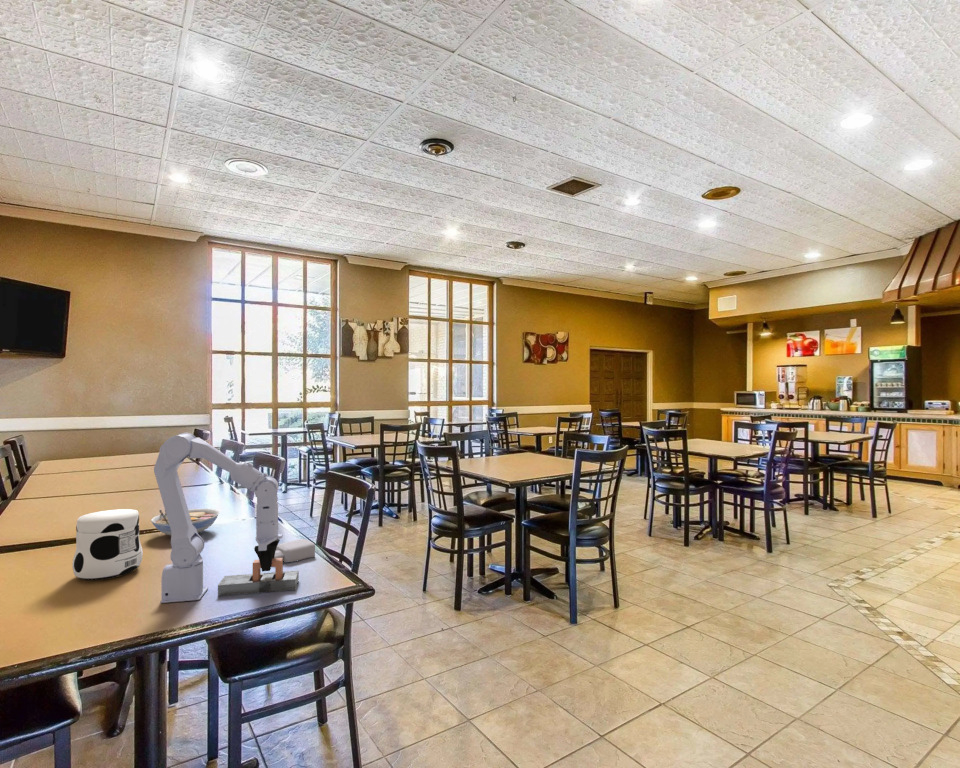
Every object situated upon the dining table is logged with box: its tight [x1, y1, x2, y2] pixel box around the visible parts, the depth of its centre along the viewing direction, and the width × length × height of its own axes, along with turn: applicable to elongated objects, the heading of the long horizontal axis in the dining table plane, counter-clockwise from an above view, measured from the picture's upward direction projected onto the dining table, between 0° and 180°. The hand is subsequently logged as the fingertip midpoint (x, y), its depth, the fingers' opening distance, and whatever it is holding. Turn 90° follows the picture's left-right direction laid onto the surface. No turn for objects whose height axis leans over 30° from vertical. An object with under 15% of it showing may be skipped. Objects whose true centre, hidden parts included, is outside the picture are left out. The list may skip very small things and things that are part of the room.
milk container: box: [71, 508, 144, 581], centre depth 157 cm, size 17×17×18 cm
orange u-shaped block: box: [252, 558, 284, 581], centre depth 147 cm, size 8×3×6 cm, turn 102°
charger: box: [274, 538, 316, 563], centre depth 171 cm, size 5×9×15 cm
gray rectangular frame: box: [217, 570, 300, 597], centre depth 146 cm, size 20×7×3 cm, turn 102°
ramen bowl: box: [150, 508, 220, 536], centre depth 198 cm, size 25×23×8 cm
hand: (267, 568), depth 147 cm, fingers closed on orange u-shaped block, 3 cm apart
